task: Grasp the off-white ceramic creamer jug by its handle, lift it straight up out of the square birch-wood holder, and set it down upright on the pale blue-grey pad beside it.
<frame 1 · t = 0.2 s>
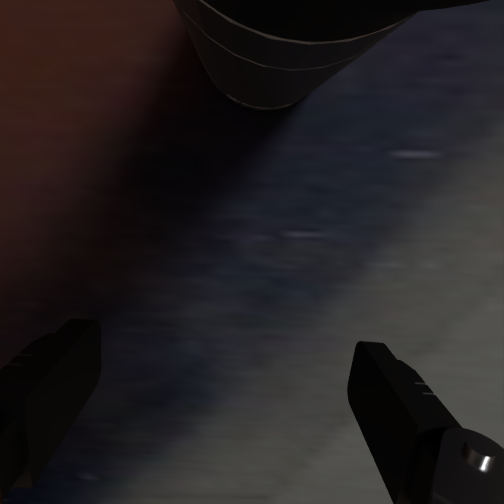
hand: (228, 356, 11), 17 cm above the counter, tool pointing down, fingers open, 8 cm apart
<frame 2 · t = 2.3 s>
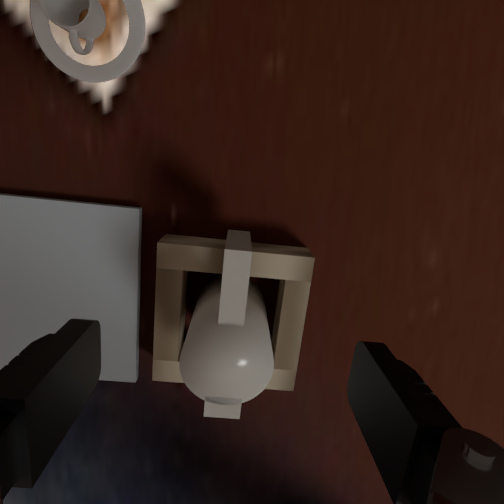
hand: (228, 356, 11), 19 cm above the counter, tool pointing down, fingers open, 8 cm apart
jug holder: (231, 306, 30), on the counter
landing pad: (46, 290, 29), on the counter
creamer jug: (231, 306, 30), resting in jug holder
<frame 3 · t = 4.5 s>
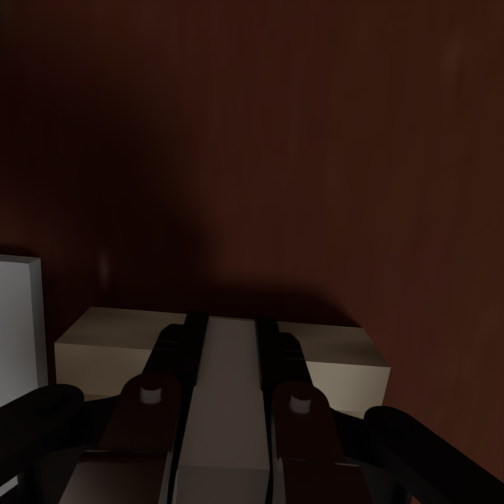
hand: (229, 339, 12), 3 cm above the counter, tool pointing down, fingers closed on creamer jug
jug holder: (219, 429, 17), on the counter
creamer jug: (219, 428, 17), resting in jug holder, touching gripper
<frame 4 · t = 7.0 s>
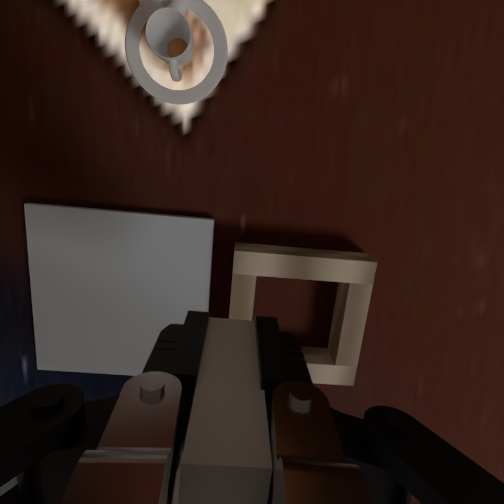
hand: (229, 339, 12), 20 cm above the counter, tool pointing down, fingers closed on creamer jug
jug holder: (292, 307, 33), on the counter
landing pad: (123, 295, 32), on the counter
creamer jug: (220, 428, 17), point 16 cm above the counter, touching gripper
teacup and saucer: (207, 24, 27), on the counter
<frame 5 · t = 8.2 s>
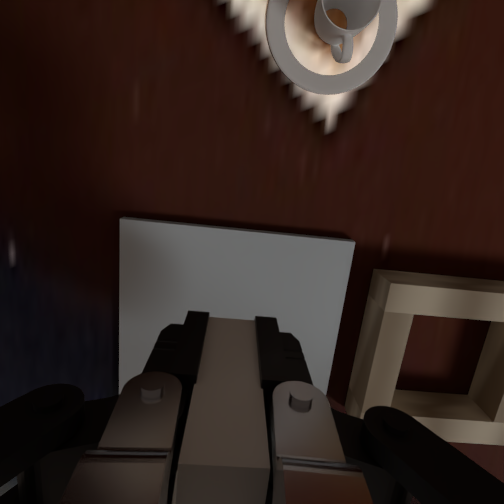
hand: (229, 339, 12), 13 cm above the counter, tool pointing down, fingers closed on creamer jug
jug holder: (432, 348, 27), on the counter
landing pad: (229, 331, 26), on the counter
creamer jug: (219, 428, 17), point 10 cm above the counter, touching gripper
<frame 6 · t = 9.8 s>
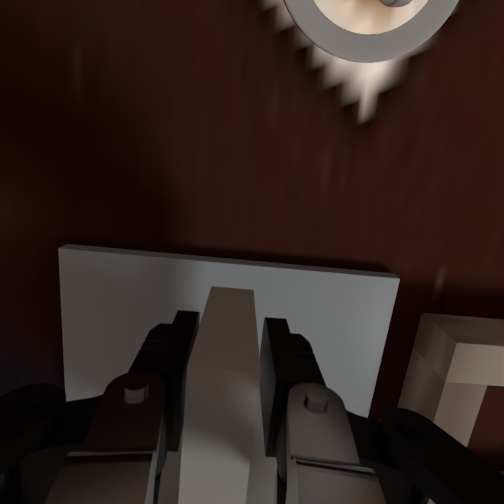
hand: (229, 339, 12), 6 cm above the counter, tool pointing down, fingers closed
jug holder: (497, 415, 20), on the counter
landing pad: (221, 397, 19), on the counter
creamer jug: (221, 405, 18), point 1 cm above the counter, touching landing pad
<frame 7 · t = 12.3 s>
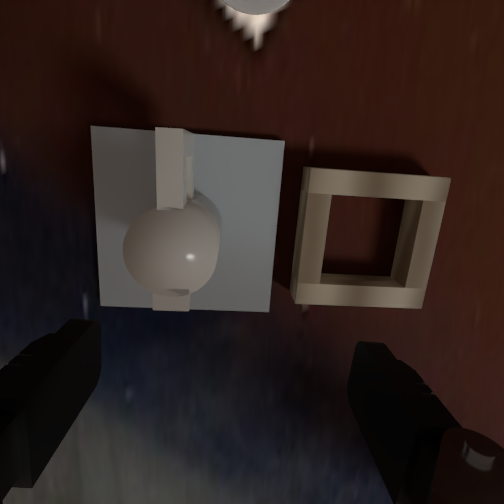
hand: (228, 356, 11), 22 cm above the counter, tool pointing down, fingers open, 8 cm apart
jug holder: (357, 235, 33), on the counter
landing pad: (189, 225, 31), on the counter
creamer jug: (188, 225, 30), point 1 cm above the counter, touching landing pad
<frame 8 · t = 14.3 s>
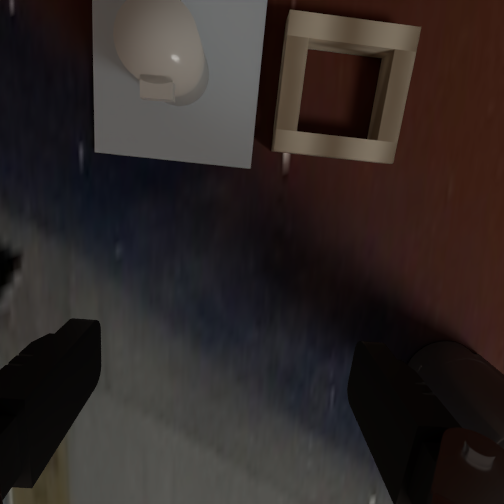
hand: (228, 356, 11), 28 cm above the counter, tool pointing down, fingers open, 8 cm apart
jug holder: (335, 96, 35), on the counter
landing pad: (178, 77, 34), on the counter
creamer jug: (178, 72, 33), point 1 cm above the counter, touching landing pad
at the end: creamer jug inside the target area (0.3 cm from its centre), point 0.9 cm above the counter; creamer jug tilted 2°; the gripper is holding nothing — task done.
